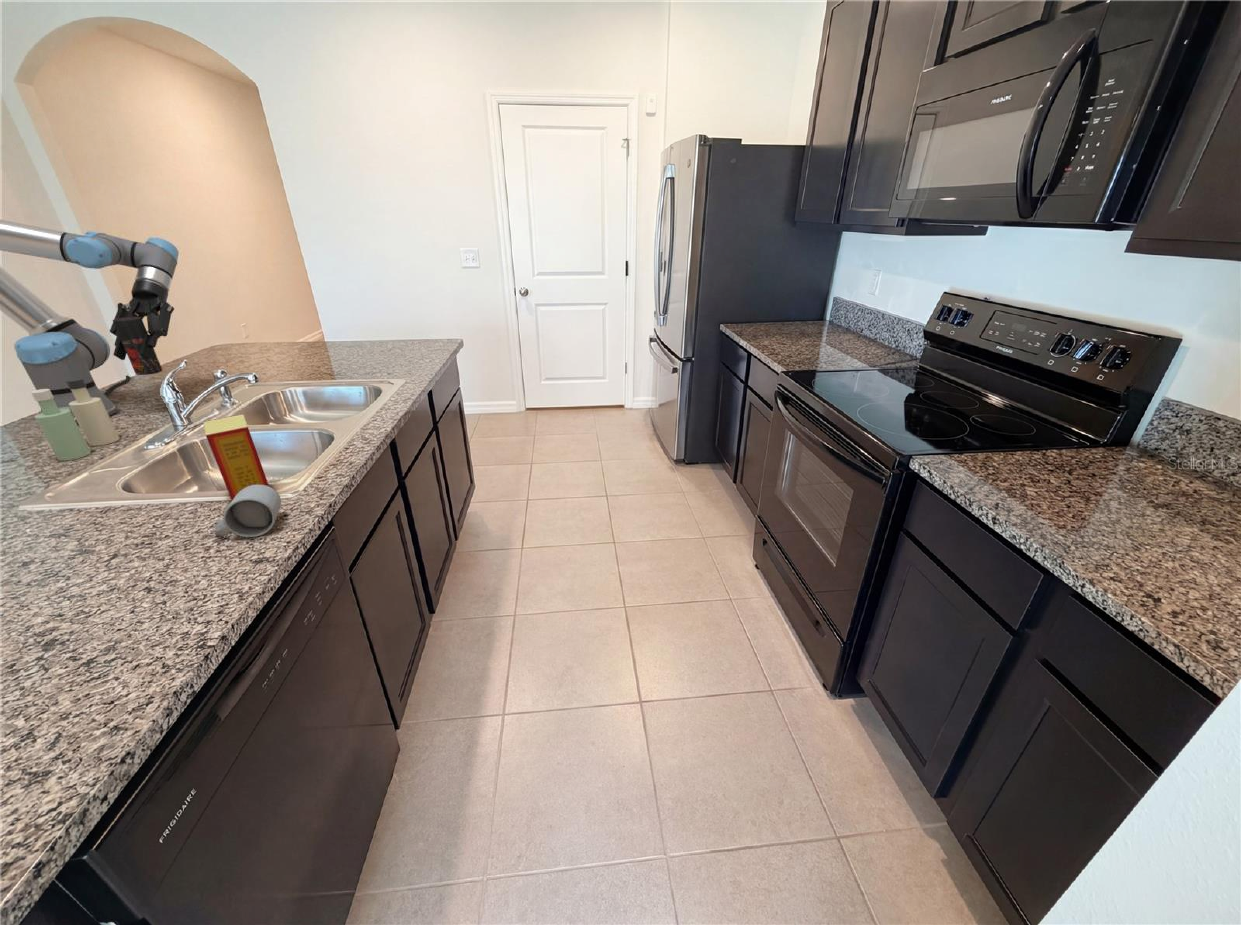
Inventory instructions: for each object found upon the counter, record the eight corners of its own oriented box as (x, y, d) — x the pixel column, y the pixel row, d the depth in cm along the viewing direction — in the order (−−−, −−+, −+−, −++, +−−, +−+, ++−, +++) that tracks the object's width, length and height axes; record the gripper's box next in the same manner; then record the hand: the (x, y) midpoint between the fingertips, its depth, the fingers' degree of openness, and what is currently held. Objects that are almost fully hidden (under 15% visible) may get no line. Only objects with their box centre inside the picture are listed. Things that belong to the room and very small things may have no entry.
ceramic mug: (287, 510, 99) (274, 476, 96) (280, 532, 92) (266, 495, 89) (223, 523, 95) (207, 487, 92) (211, 546, 89) (193, 509, 85)
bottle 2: (96, 438, 132) (66, 377, 125) (124, 435, 134) (95, 375, 127) (84, 447, 127) (51, 384, 120) (112, 444, 129) (82, 381, 122)
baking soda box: (231, 490, 107) (202, 419, 100) (267, 481, 110) (242, 412, 103) (235, 508, 100) (205, 433, 93) (273, 497, 104) (247, 425, 97)
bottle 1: (66, 452, 125) (32, 388, 117) (96, 449, 126) (63, 385, 119) (52, 462, 120) (15, 395, 112) (83, 458, 121) (48, 393, 114)
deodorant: (166, 371, 146) (145, 318, 139) (140, 376, 141) (117, 321, 135) (157, 368, 149) (136, 316, 142) (132, 373, 144) (108, 319, 137)
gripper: (195, 295, 151) (178, 363, 144) (128, 296, 150) (107, 364, 142) (176, 278, 144) (157, 349, 136) (105, 279, 143) (82, 350, 135)
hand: (131, 357), depth 139 cm, fingers closed on deodorant, 6 cm apart
